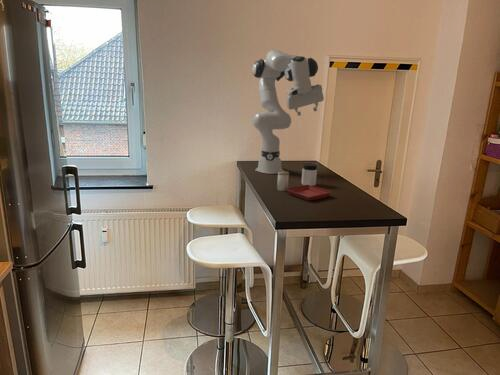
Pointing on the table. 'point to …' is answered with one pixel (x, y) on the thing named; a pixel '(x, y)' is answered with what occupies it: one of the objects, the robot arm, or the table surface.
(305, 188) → the plant saucer
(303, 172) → the jar
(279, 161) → the robot arm
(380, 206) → the table surface
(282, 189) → the canister
